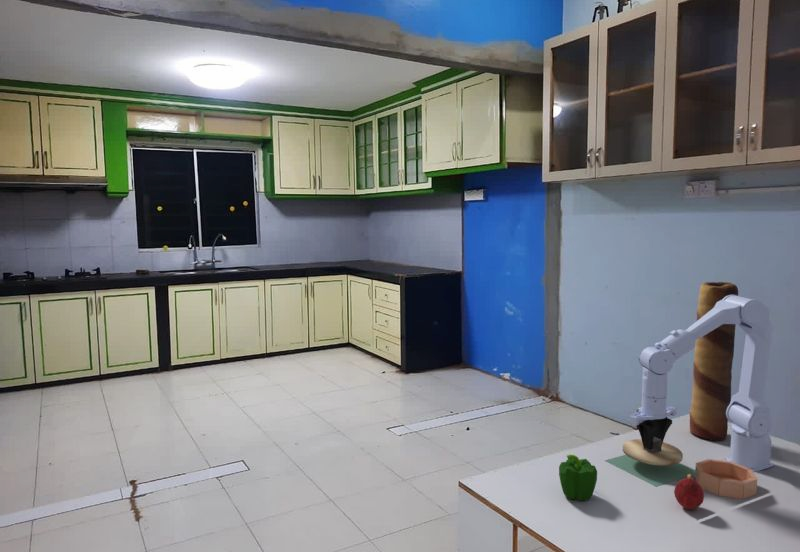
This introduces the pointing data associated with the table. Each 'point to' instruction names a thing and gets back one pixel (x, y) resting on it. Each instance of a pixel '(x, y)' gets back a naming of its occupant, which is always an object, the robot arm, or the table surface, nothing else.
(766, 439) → the robot arm
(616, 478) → the table surface
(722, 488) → the bowl
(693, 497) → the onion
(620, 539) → the table surface
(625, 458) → the mat
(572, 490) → the bell pepper
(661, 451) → the lid
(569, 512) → the table surface
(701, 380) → the wafer roll
